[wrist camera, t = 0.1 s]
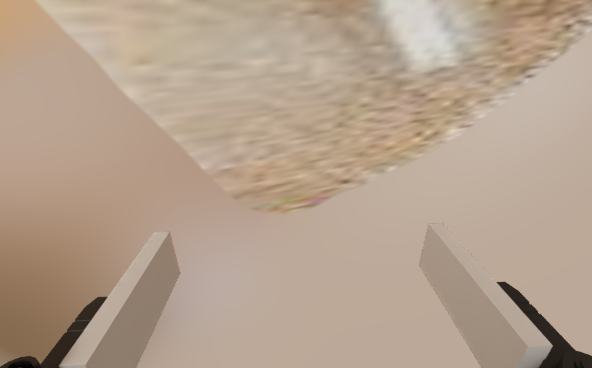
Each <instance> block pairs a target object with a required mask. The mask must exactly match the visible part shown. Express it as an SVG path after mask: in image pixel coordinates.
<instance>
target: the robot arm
mask: <svg viewBox="0 0 592 368" xmlns="http://www.w3.org/2000/svg"><path fill="white" fill-rule="evenodd" d="M419 266H420V268H421V269H422V271H423V272H424V274H425V276H426V277H427V279H428V281H429V282H430V284H431V286H432V287H433V289H434V290H435V292H436V294H437V295H438V297H439V299H440V300H441V302H442V304H443V305H444V307H445V309H446V310H447V312H448V313H449V315H450V317H451V318H452V320H453V321H454V323H455V325H456V326H457V328H458V330H459V331H460V333H461V335H462V336H463V338H464V339H465V341H466V343H467V344H468V346H469V348H470V349H471V351H472V353H473V354H474V356H475V358H476V359H477V361H478V363H479V364H480V366H481V368H592V356H590V355H588V354H585V353H582V352H579V351H576V350H575V349H573V348H572V347H571V345H570V344H569V343H568V342H567V341H566V340H565V339H564V338H563V337H562V336H561V335H560V334H559V333H558V332H557V331H556V330H555V329H554V328H553V327H552V326H551V325H550V323H549V322H548V321H547V320H546V319H545V318H544V317H543V316H542V315H541V314H539V313H538V311H537V310H536V309H535V308H534V307H533V306H532V305H530V304H529V301H528V300H527V299H526V298H525V297H524V296H523V295H522V294H521V293H520V292H519V291H518V290H516V289H515V288H513V287H512V286H510V285H509V284H507V283H506V282H496V281H495V280H494V279H493V278H492V277H491V276H490V275H489V274H488V273H487V271H486V270H485V269H484V268H483V267H482V266H481V265H480V264H479V263H478V261H477V260H476V259H475V258H474V257H473V256H472V255H471V254H470V252H469V251H468V250H467V249H466V248H465V247H464V246H463V245H462V243H461V242H460V241H459V240H458V239H457V238H456V237H455V236H454V234H453V233H452V232H451V231H450V230H449V229H448V228H447V227H446V226H445V224H444V223H429V224H428V228H427V232H426V236H425V241H424V246H423V250H422V254H421V259H420V263H419ZM179 275H180V270H179V266H178V262H177V258H176V254H175V251H174V247H173V243H172V239H171V235H170V232H169V231H167V232H166V231H165V232H154V233H153V234H152V236H151V237H150V239H149V240H148V241H147V243H146V244H145V245H144V247H143V248H142V250H141V251H140V253H139V254H138V255H137V257H136V258H135V260H134V261H133V262H132V264H131V265H130V267H129V268H128V270H127V271H126V272H125V274H124V275H123V276H122V278H121V279H120V281H119V282H118V283H117V285H116V286H115V288H114V289H113V290H112V292H111V293H110V295H109V296H108V297H97V298H96V299H95V300H94V301H92V302H91V303H90V304H89V305H87V306H86V307H85V308H84V309H83V311H82V312H81V313H80V314H79V315H78V317H77V318H76V319H75V322H73V323H72V325H71V326H70V327H69V328H68V330H67V333H65V334H64V335H63V336H62V337H61V339H60V340H59V341H58V343H57V344H56V345H55V347H54V348H53V349H52V350H51V352H50V353H49V354H48V356H47V357H46V358H45V359H44V361H43V362H42V363H41V365H40V364H39V362H38V360H37V359H36V358H34V357H31V356H26V357H20V358H17V359H15V360H12V361H9V362H8V363H6V364H4V365H3V366H1V367H0V368H136V367H137V364H138V363H139V361H140V358H141V356H142V354H143V352H144V350H145V348H146V345H147V343H148V341H149V339H150V337H151V335H152V333H153V331H154V328H155V326H156V324H157V322H158V320H159V318H160V316H161V313H162V311H163V309H164V307H165V305H166V303H167V301H168V298H169V296H170V294H171V292H172V290H173V287H174V286H175V283H176V281H177V279H178V277H179Z"/></svg>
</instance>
